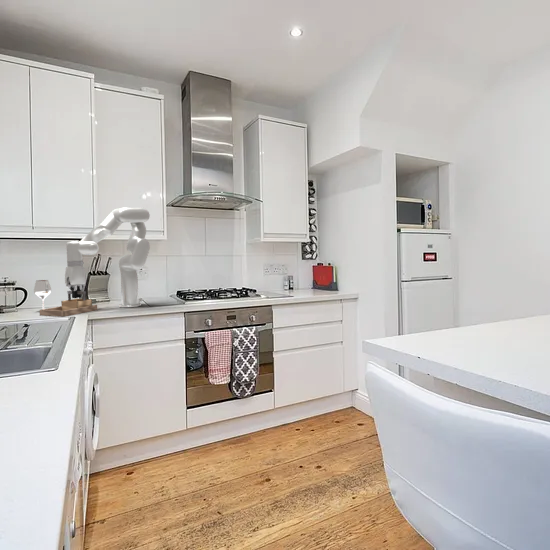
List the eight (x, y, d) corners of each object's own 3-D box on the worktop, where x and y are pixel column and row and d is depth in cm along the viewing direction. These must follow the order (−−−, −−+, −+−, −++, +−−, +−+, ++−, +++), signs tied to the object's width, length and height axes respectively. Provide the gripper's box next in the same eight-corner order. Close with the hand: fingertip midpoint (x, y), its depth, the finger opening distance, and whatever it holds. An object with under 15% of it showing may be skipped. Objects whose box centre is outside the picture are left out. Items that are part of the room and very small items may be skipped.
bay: (75, 310, 213) (75, 303, 213) (97, 312, 208) (97, 304, 207) (39, 317, 192) (39, 309, 192) (63, 319, 187) (63, 311, 187)
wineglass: (35, 314, 202) (33, 281, 200) (34, 312, 208) (32, 280, 207) (53, 312, 206) (51, 280, 205) (51, 311, 213) (49, 279, 212)
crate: (77, 309, 211) (76, 289, 210) (92, 310, 207) (91, 290, 207) (61, 312, 202) (60, 291, 201) (77, 312, 198) (76, 292, 197)
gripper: (81, 263, 212) (83, 295, 213) (57, 264, 197) (59, 299, 198) (92, 263, 209) (93, 296, 210) (68, 264, 194) (69, 299, 195)
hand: (76, 297), depth 204 cm, fingers closed on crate, 2 cm apart
